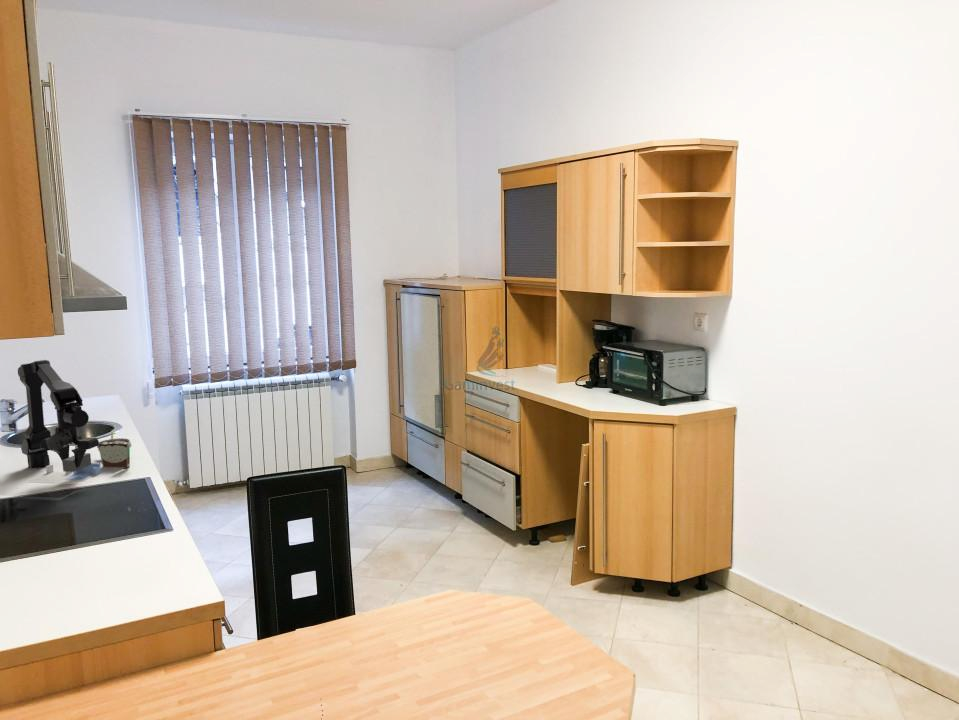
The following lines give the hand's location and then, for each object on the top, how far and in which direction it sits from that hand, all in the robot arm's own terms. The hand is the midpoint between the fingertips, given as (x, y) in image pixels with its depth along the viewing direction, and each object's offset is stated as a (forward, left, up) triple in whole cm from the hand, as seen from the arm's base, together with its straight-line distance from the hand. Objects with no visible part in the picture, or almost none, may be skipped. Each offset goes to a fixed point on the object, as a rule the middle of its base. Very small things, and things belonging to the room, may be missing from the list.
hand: (72, 467), depth 266 cm
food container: (+5, +18, -5) cm, 20 cm away
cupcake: (-5, +27, -5) cm, 29 cm away
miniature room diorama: (-5, +1, -5) cm, 8 cm away
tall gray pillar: (0, +2, -1) cm, 3 cm away
